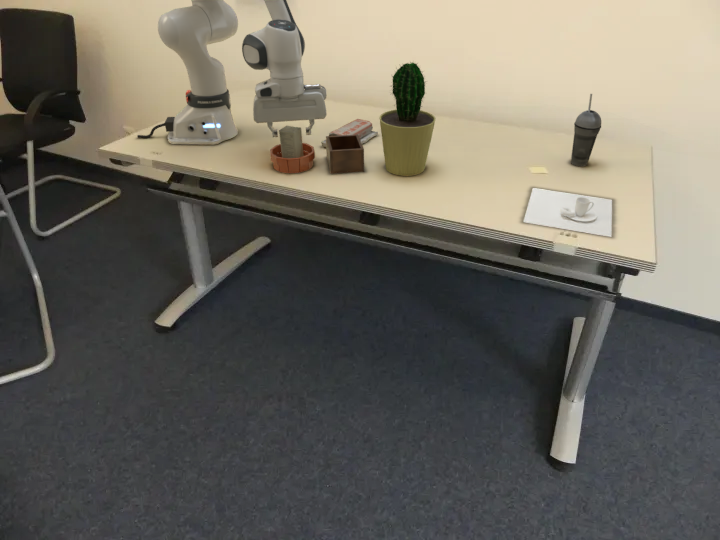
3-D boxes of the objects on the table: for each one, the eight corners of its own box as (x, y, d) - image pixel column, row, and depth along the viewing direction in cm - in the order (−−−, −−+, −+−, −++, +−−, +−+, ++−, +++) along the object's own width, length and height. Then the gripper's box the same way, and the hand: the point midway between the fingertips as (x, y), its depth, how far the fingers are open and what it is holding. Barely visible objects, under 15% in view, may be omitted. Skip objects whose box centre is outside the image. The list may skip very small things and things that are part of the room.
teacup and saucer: (558, 219, 136) (561, 204, 133) (560, 204, 142) (563, 190, 140) (596, 225, 133) (600, 210, 131) (597, 210, 139) (601, 196, 137)
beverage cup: (579, 170, 159) (595, 100, 148) (560, 161, 165) (574, 93, 153) (597, 165, 162) (614, 96, 151) (578, 156, 167) (594, 89, 156)
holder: (330, 173, 158) (329, 151, 154) (326, 157, 168) (325, 136, 164) (364, 171, 159) (364, 149, 156) (358, 155, 169) (358, 134, 165)
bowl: (271, 175, 157) (270, 160, 155) (271, 158, 168) (269, 143, 165) (316, 172, 159) (315, 157, 156) (313, 155, 169) (312, 140, 167)
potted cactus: (423, 155, 169) (430, 51, 152) (438, 176, 156) (447, 66, 139) (374, 159, 167) (375, 54, 150) (384, 181, 154) (387, 69, 137)
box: (304, 163, 164) (302, 127, 158) (297, 169, 161) (294, 132, 155) (289, 160, 166) (286, 124, 160) (281, 166, 163) (278, 129, 156)
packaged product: (352, 115, 184) (378, 121, 180) (353, 129, 187) (378, 135, 183) (320, 132, 172) (346, 138, 168) (321, 146, 175) (347, 153, 170)
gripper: (324, 80, 154) (327, 129, 162) (250, 85, 152) (256, 134, 159) (327, 86, 149) (329, 136, 157) (249, 91, 147) (256, 141, 154)
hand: (292, 135), depth 158 cm, fingers open, 8 cm apart
